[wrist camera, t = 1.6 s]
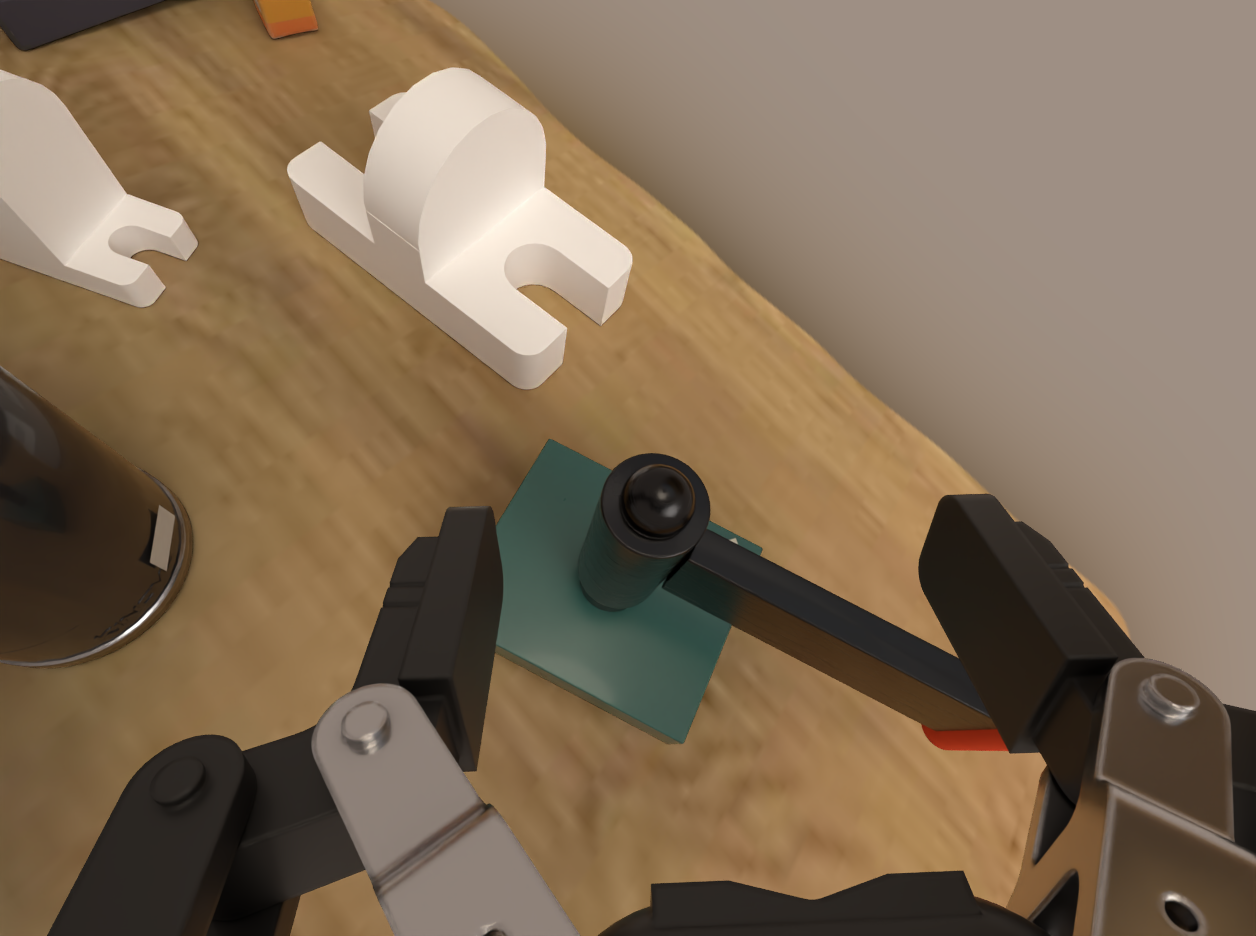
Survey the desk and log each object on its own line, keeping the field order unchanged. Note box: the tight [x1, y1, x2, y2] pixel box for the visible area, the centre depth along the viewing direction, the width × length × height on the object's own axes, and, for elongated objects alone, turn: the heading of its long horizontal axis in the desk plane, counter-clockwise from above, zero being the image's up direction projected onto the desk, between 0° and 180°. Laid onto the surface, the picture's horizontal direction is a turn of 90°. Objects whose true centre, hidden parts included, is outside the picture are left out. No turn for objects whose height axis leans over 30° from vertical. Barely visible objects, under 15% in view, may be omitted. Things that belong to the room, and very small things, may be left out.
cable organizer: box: [0, 70, 198, 307], centre depth 32 cm, size 5×10×10 cm, turn 73°
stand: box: [495, 439, 762, 744], centre depth 32 cm, size 12×10×5 cm
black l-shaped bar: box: [578, 453, 1008, 751], centre depth 24 cm, size 17×4×10 cm, turn 64°
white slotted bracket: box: [287, 67, 632, 390], centre depth 35 cm, size 10×18×11 cm, turn 52°
